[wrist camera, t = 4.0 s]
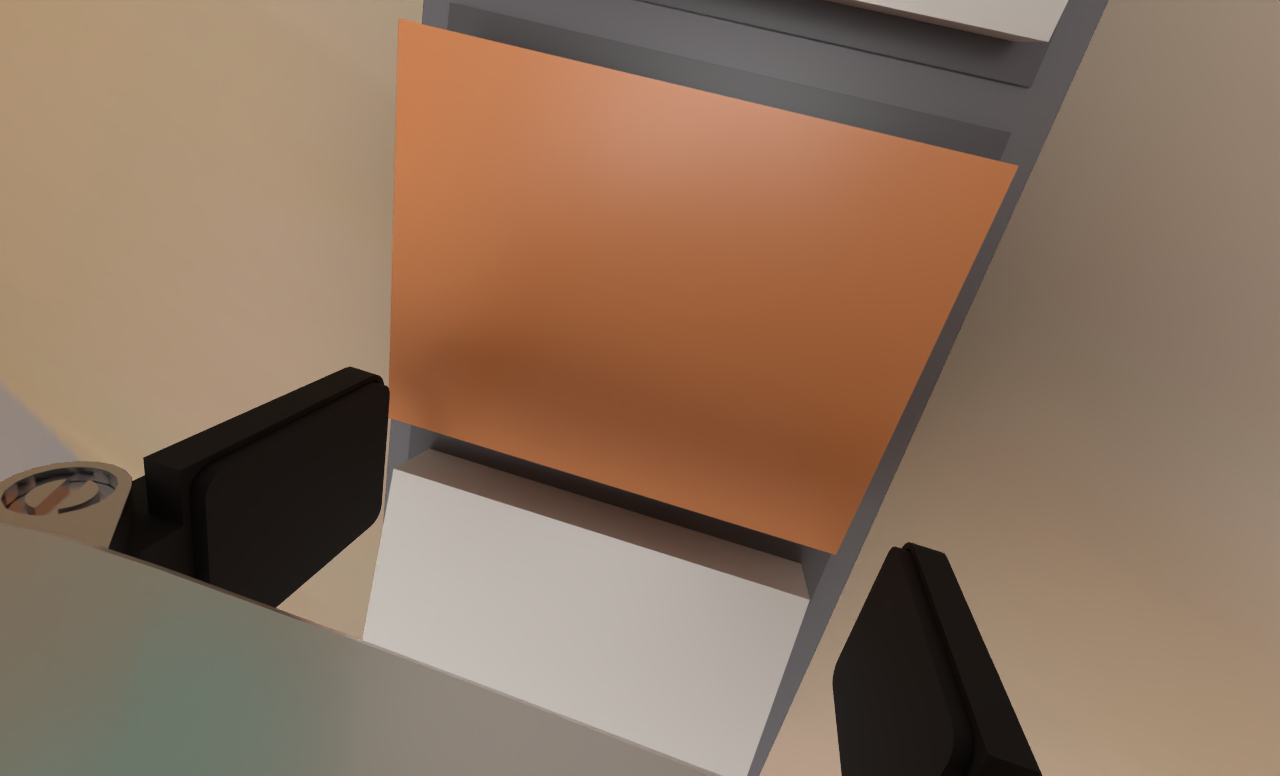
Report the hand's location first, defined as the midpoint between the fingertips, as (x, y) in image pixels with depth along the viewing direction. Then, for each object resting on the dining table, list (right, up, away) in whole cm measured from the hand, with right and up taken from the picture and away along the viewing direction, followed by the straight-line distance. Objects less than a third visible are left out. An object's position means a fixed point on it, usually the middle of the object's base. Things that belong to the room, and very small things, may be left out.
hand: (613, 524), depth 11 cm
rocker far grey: (-1, -4, +6) cm, 8 cm away
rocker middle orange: (+1, +5, +2) cm, 5 cm away
